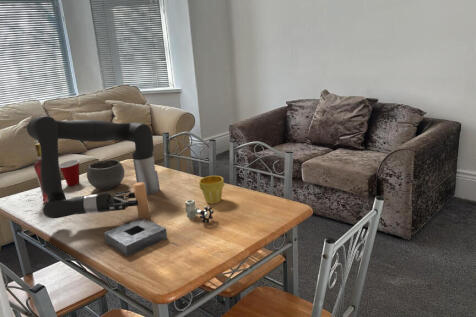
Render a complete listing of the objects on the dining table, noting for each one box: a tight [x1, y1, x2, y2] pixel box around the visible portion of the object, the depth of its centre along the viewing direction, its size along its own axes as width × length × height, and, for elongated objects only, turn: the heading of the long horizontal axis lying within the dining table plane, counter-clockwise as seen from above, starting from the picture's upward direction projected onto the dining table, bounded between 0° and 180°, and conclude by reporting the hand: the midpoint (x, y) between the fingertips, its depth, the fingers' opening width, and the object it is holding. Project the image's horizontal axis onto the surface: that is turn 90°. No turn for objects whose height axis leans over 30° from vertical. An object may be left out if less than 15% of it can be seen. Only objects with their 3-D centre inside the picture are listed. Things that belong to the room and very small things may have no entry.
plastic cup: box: [59, 159, 81, 187], centre depth 217 cm, size 11×11×12 cm
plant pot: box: [198, 175, 225, 205], centre depth 180 cm, size 10×10×10 cm
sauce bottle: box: [33, 142, 49, 204], centre depth 194 cm, size 7×7×28 cm
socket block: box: [103, 217, 168, 257], centre depth 151 cm, size 16×16×4 cm
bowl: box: [86, 159, 125, 191], centre depth 208 cm, size 18×18×13 cm
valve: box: [185, 199, 215, 224], centre depth 164 cm, size 7×7×12 cm
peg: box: [132, 182, 151, 221], centre depth 167 cm, size 4×4×15 cm
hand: (139, 198), depth 166 cm, fingers open, 8 cm apart
